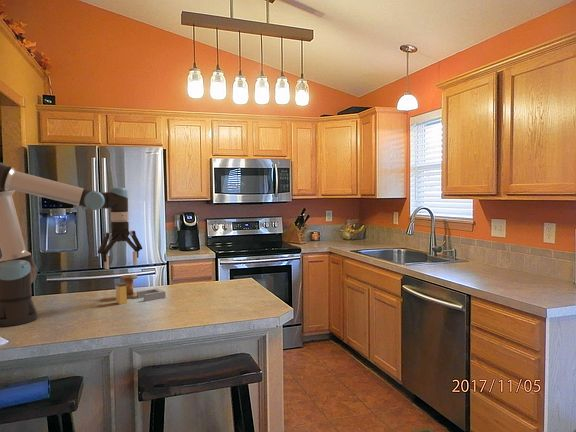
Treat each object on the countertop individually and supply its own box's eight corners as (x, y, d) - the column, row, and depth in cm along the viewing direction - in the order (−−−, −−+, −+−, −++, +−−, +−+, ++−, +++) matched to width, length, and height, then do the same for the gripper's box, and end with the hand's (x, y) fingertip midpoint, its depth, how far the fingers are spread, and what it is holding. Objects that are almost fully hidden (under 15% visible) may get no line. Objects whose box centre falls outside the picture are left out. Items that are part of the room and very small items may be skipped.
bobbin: (122, 299, 197) (122, 278, 196) (116, 296, 204) (115, 276, 203) (141, 296, 203) (141, 276, 202) (134, 293, 210) (134, 273, 209)
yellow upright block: (120, 304, 188) (119, 284, 188) (116, 302, 192) (115, 283, 192) (126, 303, 190) (126, 283, 190) (123, 301, 194) (122, 282, 194)
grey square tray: (145, 301, 193) (144, 294, 193) (137, 297, 201) (136, 291, 201) (165, 297, 200) (165, 291, 200) (157, 294, 207) (156, 288, 207)
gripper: (96, 222, 180) (97, 271, 181) (148, 220, 199) (150, 264, 200) (88, 222, 185) (90, 269, 186) (140, 219, 204) (142, 262, 205)
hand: (121, 267), depth 193 cm, fingers open, 13 cm apart
